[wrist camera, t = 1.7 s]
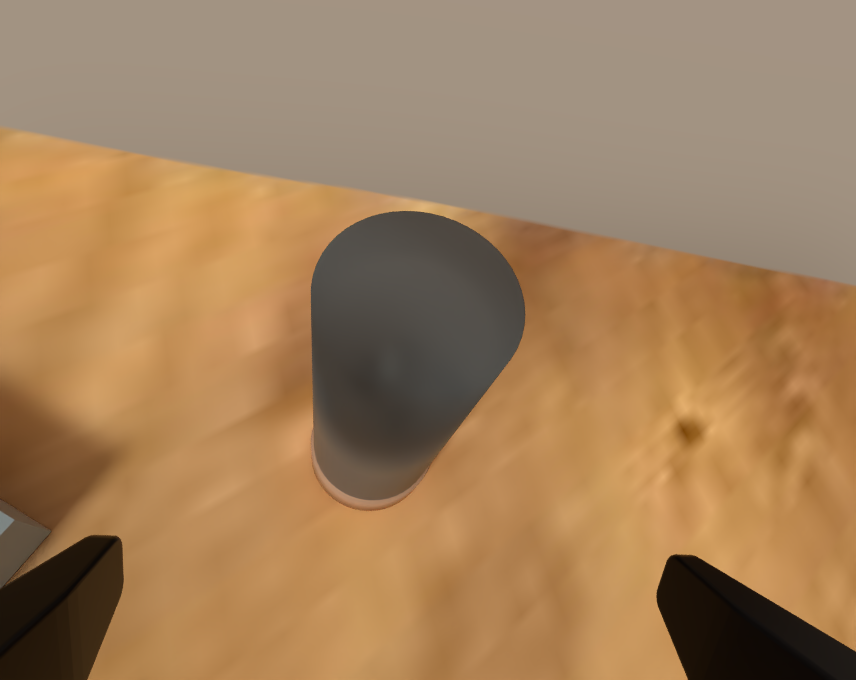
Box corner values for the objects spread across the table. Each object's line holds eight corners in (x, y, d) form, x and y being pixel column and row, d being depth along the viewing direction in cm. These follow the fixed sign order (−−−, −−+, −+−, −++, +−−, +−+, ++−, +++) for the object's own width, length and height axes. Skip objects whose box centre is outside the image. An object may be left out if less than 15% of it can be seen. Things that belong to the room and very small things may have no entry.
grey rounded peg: (445, 432, 22) (559, 272, 12) (391, 534, 20) (474, 448, 9) (351, 378, 22) (380, 176, 12) (287, 471, 20) (255, 323, 10)
